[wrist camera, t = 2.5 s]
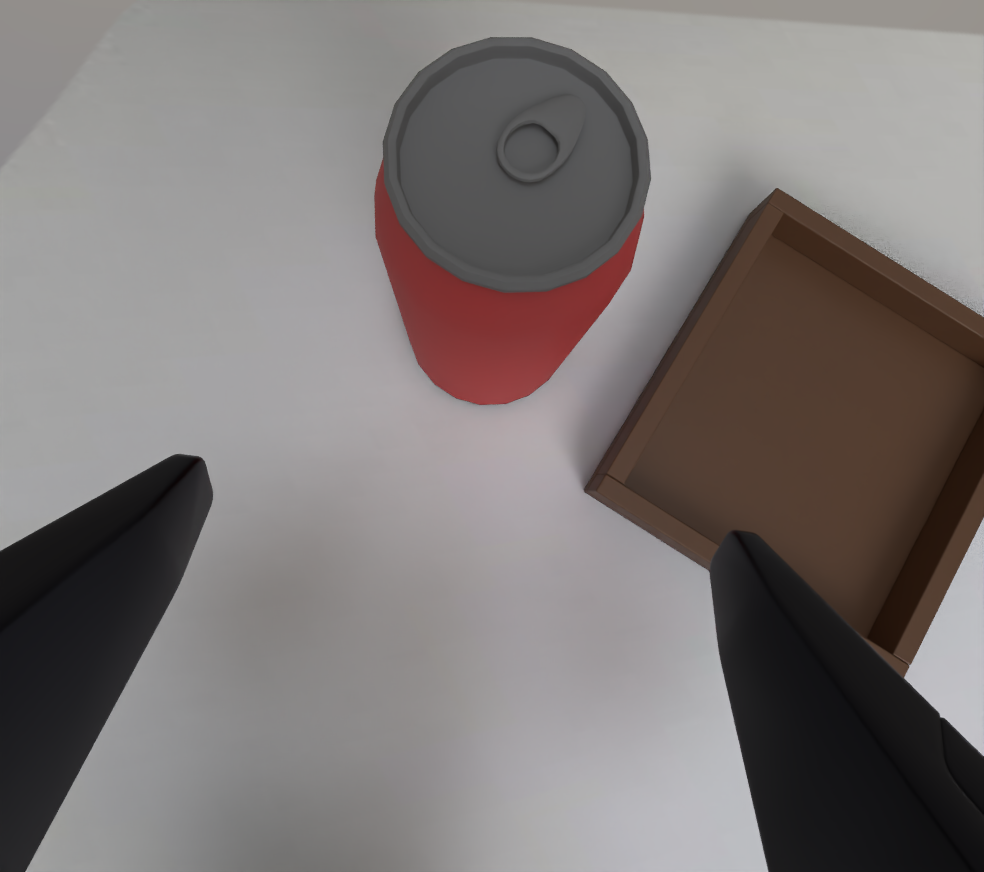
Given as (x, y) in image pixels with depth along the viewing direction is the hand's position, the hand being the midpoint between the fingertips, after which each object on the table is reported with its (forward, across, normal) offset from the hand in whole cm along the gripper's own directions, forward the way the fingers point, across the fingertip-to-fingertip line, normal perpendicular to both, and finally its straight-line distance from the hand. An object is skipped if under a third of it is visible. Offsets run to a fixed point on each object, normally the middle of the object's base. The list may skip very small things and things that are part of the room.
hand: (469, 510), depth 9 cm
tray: (+13, -14, +6) cm, 20 cm away
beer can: (+14, 0, +4) cm, 15 cm away
